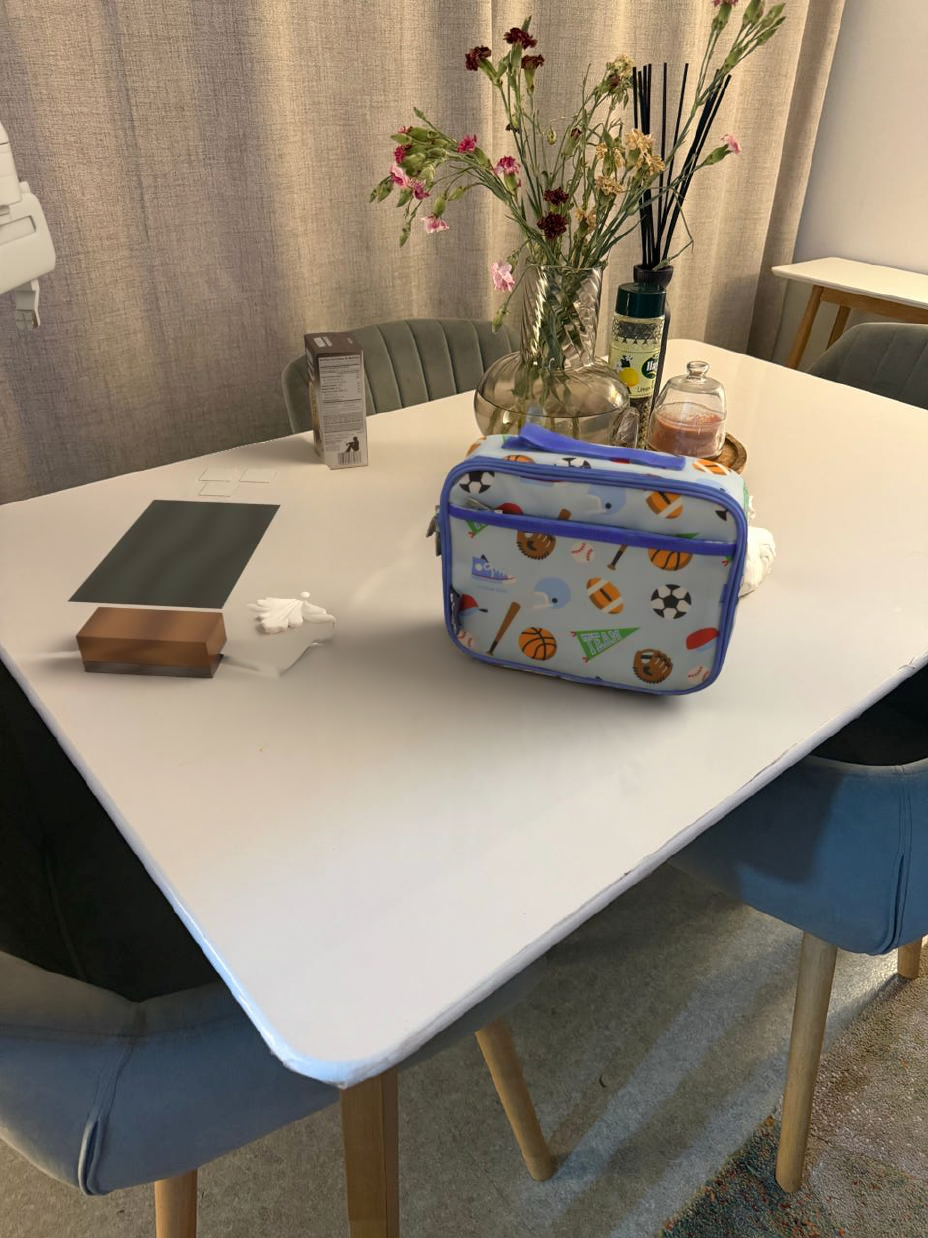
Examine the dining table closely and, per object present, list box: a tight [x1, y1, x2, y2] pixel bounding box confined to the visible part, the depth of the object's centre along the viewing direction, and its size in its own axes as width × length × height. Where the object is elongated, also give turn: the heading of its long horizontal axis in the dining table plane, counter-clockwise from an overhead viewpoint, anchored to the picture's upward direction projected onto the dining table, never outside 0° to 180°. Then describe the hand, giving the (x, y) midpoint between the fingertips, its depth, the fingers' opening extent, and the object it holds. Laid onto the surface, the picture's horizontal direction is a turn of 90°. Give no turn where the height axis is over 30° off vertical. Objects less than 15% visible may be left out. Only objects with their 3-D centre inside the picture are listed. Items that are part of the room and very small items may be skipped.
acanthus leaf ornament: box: [246, 591, 337, 635], centre depth 89 cm, size 8×7×2 cm
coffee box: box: [303, 331, 369, 470], centre depth 120 cm, size 9×6×16 cm
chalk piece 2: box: [198, 481, 240, 498], centre depth 113 cm, size 4×4×1 cm
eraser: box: [75, 606, 228, 679], centre depth 83 cm, size 12×5×4 cm, turn 86°
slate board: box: [67, 499, 281, 610], centre depth 100 cm, size 18×26×1 cm
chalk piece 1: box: [198, 467, 238, 482], centre depth 117 cm, size 4×4×1 cm
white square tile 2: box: [238, 468, 278, 484], centre depth 117 cm, size 4×4×1 cm
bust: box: [741, 495, 777, 596], centre depth 94 cm, size 12×8×11 cm
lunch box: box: [425, 421, 750, 696], centre depth 78 cm, size 28×10×22 cm, turn 73°
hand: (5, 342), depth 84 cm, fingers open, 8 cm apart
